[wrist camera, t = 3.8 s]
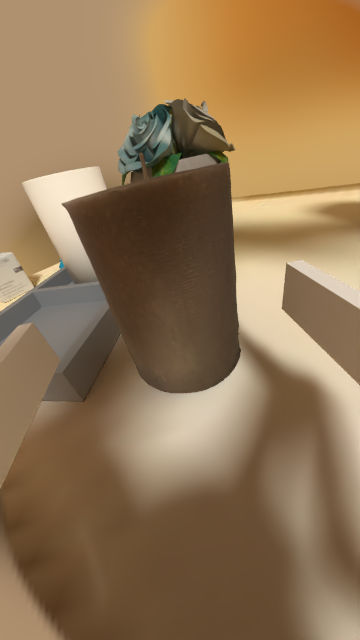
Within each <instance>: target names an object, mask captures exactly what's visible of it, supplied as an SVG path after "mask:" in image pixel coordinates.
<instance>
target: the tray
mask: <svg viewBox="0 0 360 640" xmlns="http://www.w3.org/2000/svg"><path fill="white" fill-rule="evenodd" d="M32 322H33V323H34V324H35V326H36V327H37V329H38V330H39V331H40V333H41V334H42V335H43V337H44V338H45V340H46V341H47V342H48V344H49V345H50V346H51V348H52V349H53V351H54V352H55V353H56V355H57V356H58V357H59V359H60V362H59V364H58V367H57V369H56V371H55V373H54V375H53V377H52V379H51V382H50V384H49V386H48V388H47V390H46V392H45V394H44V397H43V399H42V401H84V399H85V397H86V395H87V393H88V392H89V390H90V388H91V386H92V384H93V383H94V381H95V379H96V377H97V375H98V373H99V372H100V370H101V368H102V366H103V364H104V362H105V361H106V359H107V357H108V355H109V353H110V352H111V350H112V348H113V346H114V344H115V342H116V341H117V339H118V337H119V335H120V333H121V332H120V329H119V328H118V326H117V324H116V321H115V319H114V317H113V314H112V312H111V310H110V307H109V305H108V303H107V300H106V297H105V294H104V292H103V291H102V288H101V286H100V284H99V281H97V282H89V283H81V284H74V283H73V281H72V279H71V277H70V275H69V273H68V272H67V270H66V268H65V266H64V267H63V268H62V269H60V270H59V271H57V272H56V273H54V274H53V275H52V276H50V277H49V278H47V279H46V280H45V281H43V282H42V283H40V284H39V285H37V286H36V287H35V288H33V289H32V290H30V291H29V292H27V293H26V294H25V295H23V296H22V297H20V298H19V299H18V300H16V301H15V302H13V303H12V304H10V305H9V306H8V307H6V308H5V309H3V310H2V311H1V312H0V346H1V345H2V344H3V343H4V342H5V340H6V339H7V338H8V337H9V336H10V335H11V333H12V332H13V331H14V330H15V329H16V327H17V326H19V325H23V324H27V323H32Z"/></svg>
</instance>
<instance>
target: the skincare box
mask: <svg viewBox="0 0 360 640" xmlns="http://www.w3.org/2000/svg"><path fill="white" fill-rule="evenodd" d="M33 288H34V286H33V284H32V283H31V281H30V280H29V278H28V276H27V275H26V274H25V272H24V270H23V269H22V267H21V266H20V264H19V262H18V261H17V259H16V258H15V256H14V254H13V253H10V252H8V253H0V302H3V303H6V302H8V301H10V300H12V299H14V298H16V297H18V296H20V295H22V294H24V293H26V292H28V291H30V290H32V289H33Z"/></svg>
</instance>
